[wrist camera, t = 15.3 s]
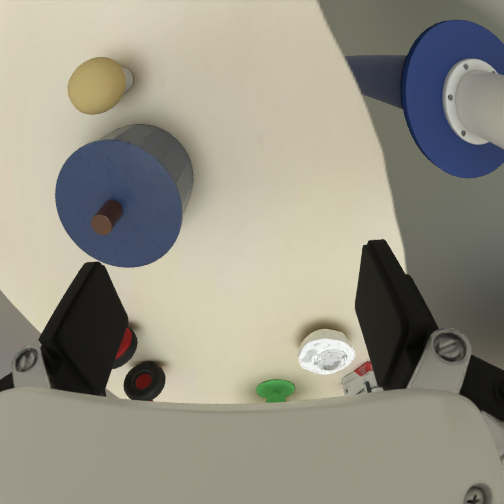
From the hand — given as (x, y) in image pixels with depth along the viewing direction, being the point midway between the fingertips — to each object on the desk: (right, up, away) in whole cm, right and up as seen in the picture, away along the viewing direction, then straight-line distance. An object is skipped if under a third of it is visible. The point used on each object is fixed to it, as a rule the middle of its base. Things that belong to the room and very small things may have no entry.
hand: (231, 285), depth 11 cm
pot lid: (-14, +6, +21) cm, 26 cm away
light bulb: (-16, +23, +21) cm, 35 cm away
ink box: (+26, -27, +55) cm, 66 cm away
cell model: (+14, -15, +47) cm, 51 cm away
